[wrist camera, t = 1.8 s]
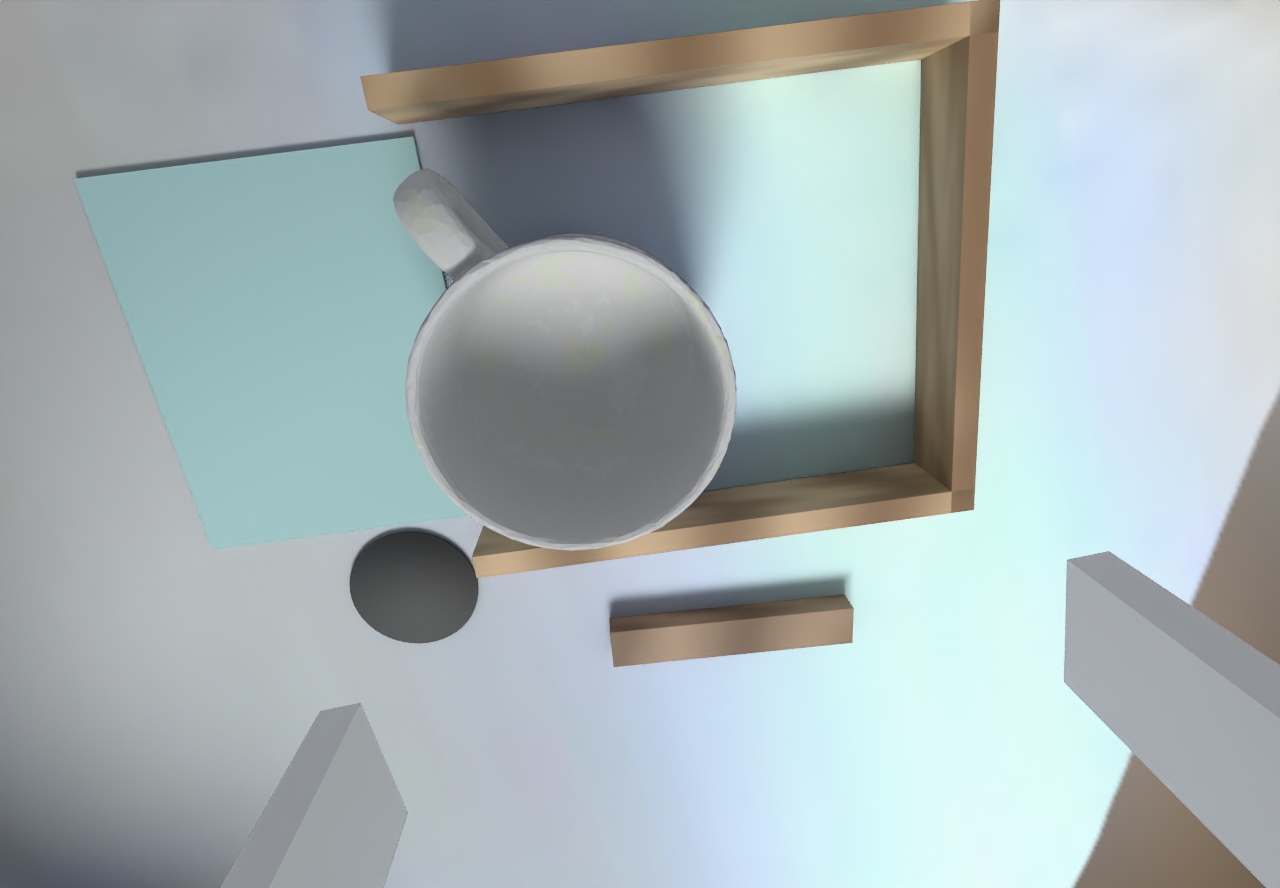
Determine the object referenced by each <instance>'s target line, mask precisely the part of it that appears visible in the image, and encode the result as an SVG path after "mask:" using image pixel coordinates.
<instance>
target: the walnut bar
mask: <svg viewBox="0 0 1280 888" xmlns="http://www.w3.org/2000/svg"><path fill="white" fill-rule="evenodd" d="M853 609H854V608H853V607H852V605H851V604H850V602H849V601H848V599H847V598H846V596H845V595H837V596H827V597H818V598H808V599H798V600H788V601H778V602H768V603H758V604H748V605H738V606H728V607H718V608H708V609H698V610H688V611H678V612H668V613H658V614H648V615H638V616H628V617H618V618H610V636H611V646H612V655H613V664H614V667H619V666H628V665H638V664H648V663H658V662H667V661H677V660H687V659H697V658H707V657H716V656H726V655H736V654H746V653H756V652H765V651H775V650H785V649H795V648H805V647H814V646H824V645H834V644H844V643H852V635H853Z"/></svg>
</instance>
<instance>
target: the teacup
mask: <svg viewBox="0 0 1280 888" xmlns="http://www.w3.org/2000/svg"><path fill="white" fill-rule="evenodd" d="M393 202H394V207H395V212H396V214H397V215H398V217H399V219H400V221H401V222H402V224H403V226H404V227H405V229H406V231H407V232H408V233H409V234H410V236H411V237H412V238H413V240H414V241H415V242H416V243H417V245H418V246H419V247H420V248H421V249H422V250H423V252H424V253H425V254H426V255H427V256H428V257H429V258H430V259H431V260H432V261H433V262H434V263H435V264H436V265H437V266H438V267H439V268H440V269H441V270H442V271H444V272H445V273H446V274H447V275H448V276H449V277H451V278H452V279H453V280H454V282H453V283H452V284H451V285H450V286H449V287H448V288H447V289H446V290H445V291H444V292H443V294H442V295H441V296H440V298H439V299H438V301H437V302H436V303H435V305H434V306H433V307H432V309H431V310H430V312H429V314H428V315H427V317H426V318H425V320H424V322H423V323H422V325H421V327H420V329H419V331H418V333H417V336H416V338H415V341H414V345H413V348H412V351H411V354H410V357H409V360H408V367H407V375H406V383H405V398H406V410H407V416H408V422H409V426H410V429H411V433H412V437H413V439H414V441H415V444H416V446H417V448H418V450H419V453H420V455H421V457H422V460H423V462H424V464H425V466H426V468H427V470H428V471H429V473H430V474H431V476H432V477H433V479H434V480H435V481H436V483H437V484H438V486H439V487H440V488H441V489H442V490H443V492H444V493H445V494H446V495H447V496H448V497H449V498H450V499H451V500H452V501H453V502H454V503H455V504H456V505H457V506H458V507H459V508H460V509H461V510H463V511H464V512H465V513H466V514H468V515H469V516H470V517H472V518H473V519H475V520H476V521H478V522H479V523H481V524H482V525H484V526H486V527H487V528H489V529H491V530H493V531H495V532H497V533H499V534H502V535H504V536H506V537H508V538H510V539H513V540H516V541H519V542H522V543H525V544H528V545H532V546H537V547H542V548H549V549H558V550H569V551H571V550H587V549H598V548H603V547H608V546H612V545H616V544H621V543H625V542H629V541H631V540H634V539H636V538H639V537H641V536H643V535H646V534H648V533H651V532H653V531H655V530H657V529H659V528H661V527H663V526H665V524H666V523H668V522H669V521H671V520H672V519H674V518H675V517H676V516H678V515H679V514H680V513H682V512H683V511H684V510H685V509H686V508H687V507H689V506H690V505H691V504H692V503H693V502H694V501H695V500H696V499H697V498H698V497H699V495H700V494H701V493H702V492H703V491H704V489H705V488H706V487H707V486H708V484H709V483H710V482H711V480H712V479H713V477H714V475H715V474H716V472H717V470H718V468H719V466H720V464H721V462H722V460H723V457H724V455H725V453H726V451H727V447H728V443H729V441H730V439H731V432H732V429H733V425H734V421H735V414H736V380H735V371H734V367H733V363H732V358H731V355H730V351H729V347H728V344H727V340H726V339H725V337H724V336H723V333H722V331H721V328H720V326H719V324H718V323H717V321H716V319H715V317H714V316H713V314H712V312H711V310H710V309H709V307H708V306H707V305H706V304H705V303H704V302H703V300H702V299H701V298H700V297H699V295H698V294H697V293H696V292H695V291H694V290H693V289H692V288H691V287H690V286H689V284H688V283H687V282H686V281H685V280H683V279H682V278H681V277H680V276H678V275H677V274H676V273H675V272H673V271H672V270H671V269H669V268H668V267H667V266H666V265H664V264H663V263H662V262H661V261H659V260H658V259H656V258H655V257H653V256H651V255H650V254H648V253H647V252H645V251H643V250H641V249H639V248H637V247H635V246H633V245H630V244H628V243H625V242H622V241H620V240H616V239H612V238H608V237H604V236H598V235H591V234H561V235H554V236H548V237H544V238H540V239H536V240H532V241H528V242H525V243H521V244H518V245H514V246H512V247H509V246H508V245H507V244H506V243H505V242H504V241H503V240H502V239H500V238H499V236H498V235H497V234H496V233H495V232H494V231H493V230H492V228H491V227H490V226H489V225H488V224H487V223H486V222H485V221H484V219H483V218H482V217H481V216H480V215H479V214H478V213H477V212H476V210H475V209H474V208H473V207H472V206H471V205H470V204H469V203H468V201H467V200H466V199H465V198H464V197H463V196H462V195H461V194H460V193H459V192H458V191H457V190H456V188H455V187H454V186H453V185H452V184H451V183H450V182H448V181H447V180H446V179H445V178H444V177H442V176H441V175H440V174H438V173H437V172H435V171H433V170H431V169H422V170H418V171H416V172H414V173H412V174H410V175H409V176H408V177H407V178H406V179H405V180H404V181H403V182H402V183H401V184H400V185H399V186H398V188H397V189H396V191H395V193H394V197H393Z"/></svg>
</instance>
